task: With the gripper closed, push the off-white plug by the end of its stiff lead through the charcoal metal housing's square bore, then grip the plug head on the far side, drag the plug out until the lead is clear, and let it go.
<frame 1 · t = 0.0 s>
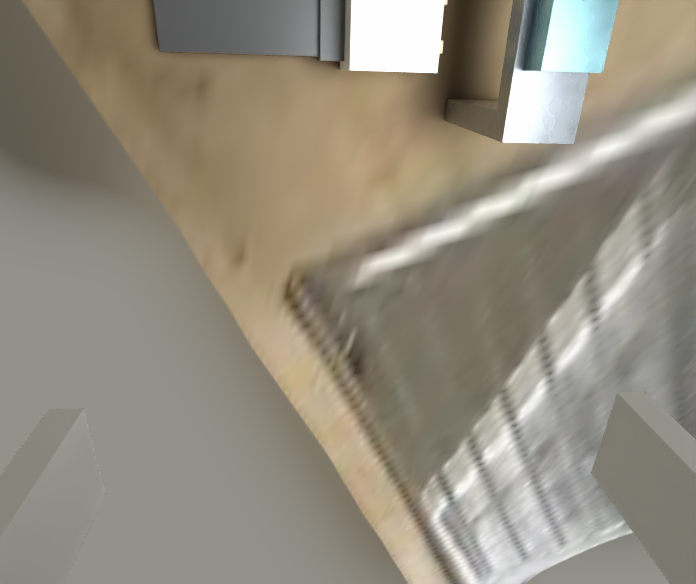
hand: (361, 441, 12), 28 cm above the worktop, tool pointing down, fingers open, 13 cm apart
plug: (376, 26, 33), on the worktop
housing: (482, 30, 33), on the worktop
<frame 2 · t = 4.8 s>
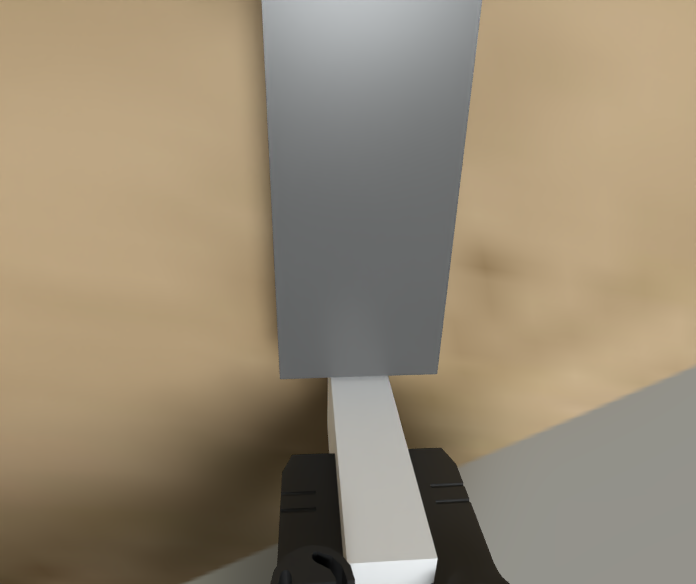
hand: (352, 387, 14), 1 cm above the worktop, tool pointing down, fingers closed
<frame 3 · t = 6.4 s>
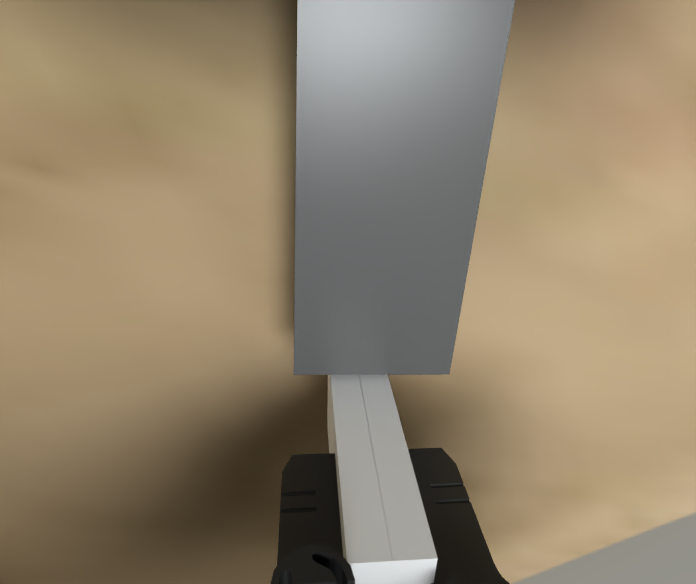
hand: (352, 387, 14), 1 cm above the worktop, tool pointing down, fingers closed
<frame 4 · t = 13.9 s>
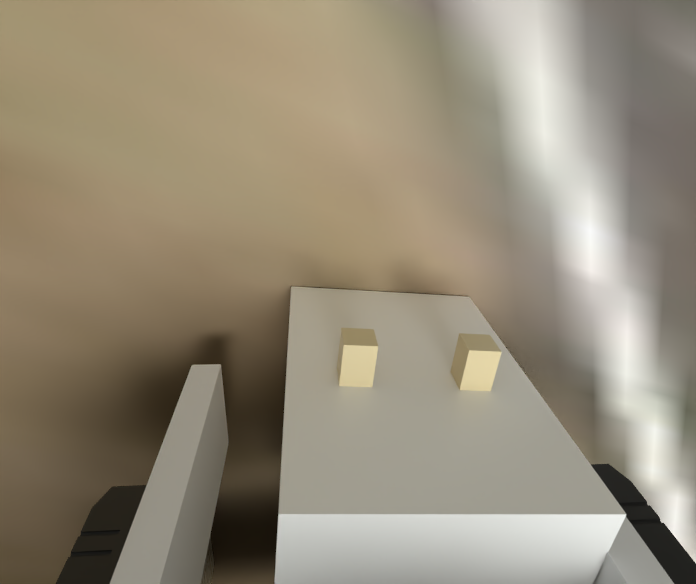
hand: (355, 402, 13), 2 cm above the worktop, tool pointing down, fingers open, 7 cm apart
plug: (372, 361, 16), on the worktop, touching gripper
housing: (327, 523, 19), on the worktop
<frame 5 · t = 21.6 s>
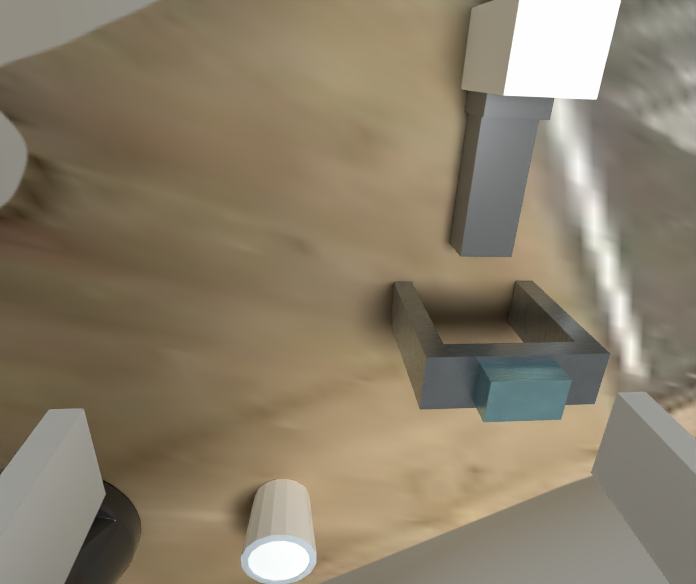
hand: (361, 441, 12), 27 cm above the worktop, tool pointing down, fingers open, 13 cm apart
plug: (504, 52, 33), on the worktop
housing: (461, 302, 41), on the worktop
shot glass: (282, 497, 50), on the worktop
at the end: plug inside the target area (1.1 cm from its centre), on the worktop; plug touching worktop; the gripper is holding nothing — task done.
